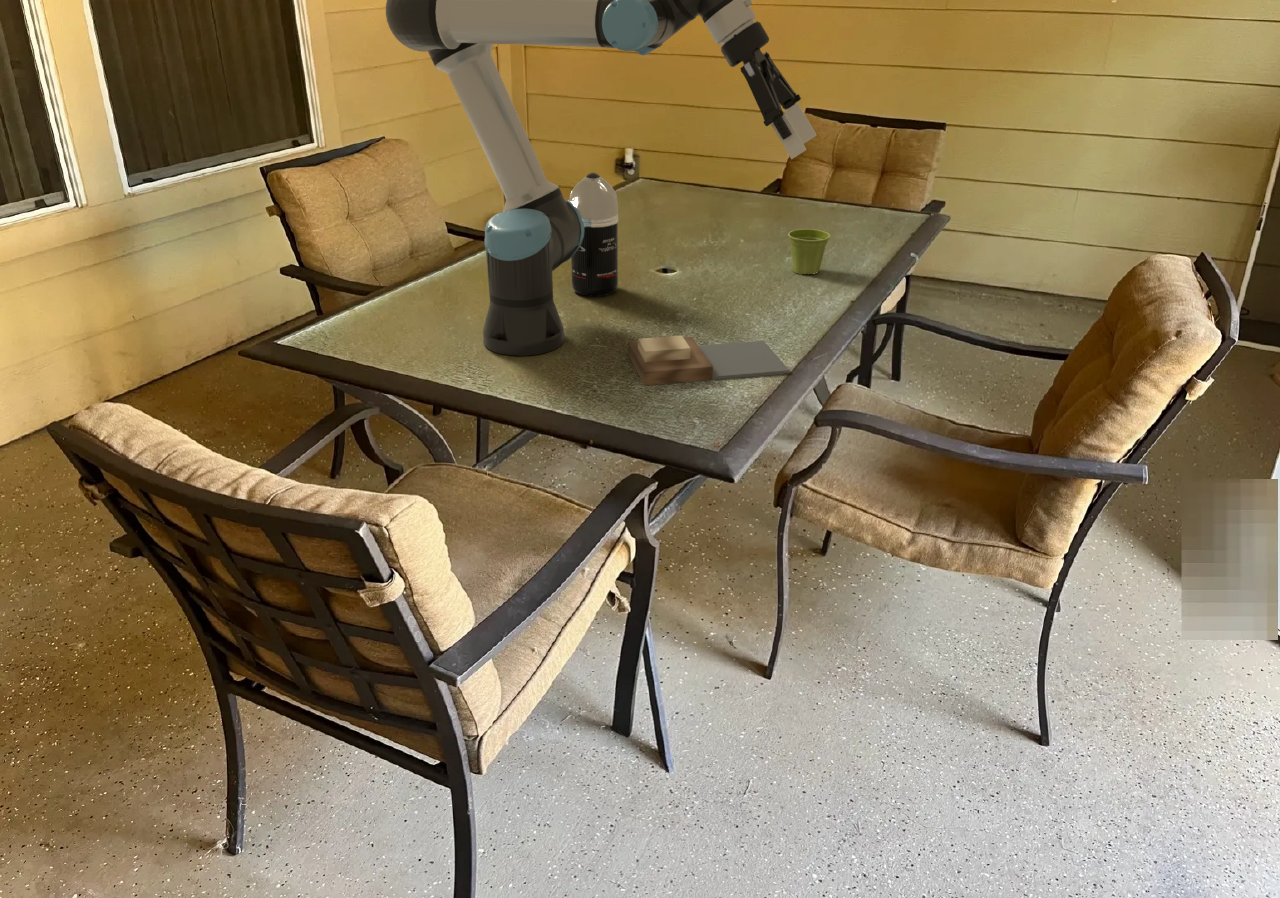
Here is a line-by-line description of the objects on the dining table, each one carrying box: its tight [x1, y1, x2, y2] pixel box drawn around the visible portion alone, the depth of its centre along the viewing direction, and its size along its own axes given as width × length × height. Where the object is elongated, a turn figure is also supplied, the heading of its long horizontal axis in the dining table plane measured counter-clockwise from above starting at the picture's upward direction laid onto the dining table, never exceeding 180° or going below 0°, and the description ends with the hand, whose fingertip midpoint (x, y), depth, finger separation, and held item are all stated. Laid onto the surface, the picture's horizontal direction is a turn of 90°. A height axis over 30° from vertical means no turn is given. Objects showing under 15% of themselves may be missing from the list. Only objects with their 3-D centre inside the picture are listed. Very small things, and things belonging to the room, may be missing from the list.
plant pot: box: [787, 228, 831, 275], centre depth 208 cm, size 9×9×9 cm
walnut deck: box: [627, 336, 713, 386], centre depth 161 cm, size 12×14×2 cm
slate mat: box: [698, 340, 790, 381], centre depth 164 cm, size 14×14×1 cm
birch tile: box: [637, 335, 690, 362], centre depth 160 cm, size 8×6×2 cm
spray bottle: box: [568, 172, 619, 297], centre depth 191 cm, size 10×10×25 cm
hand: (804, 147), depth 154 cm, fingers open, 13 cm apart
